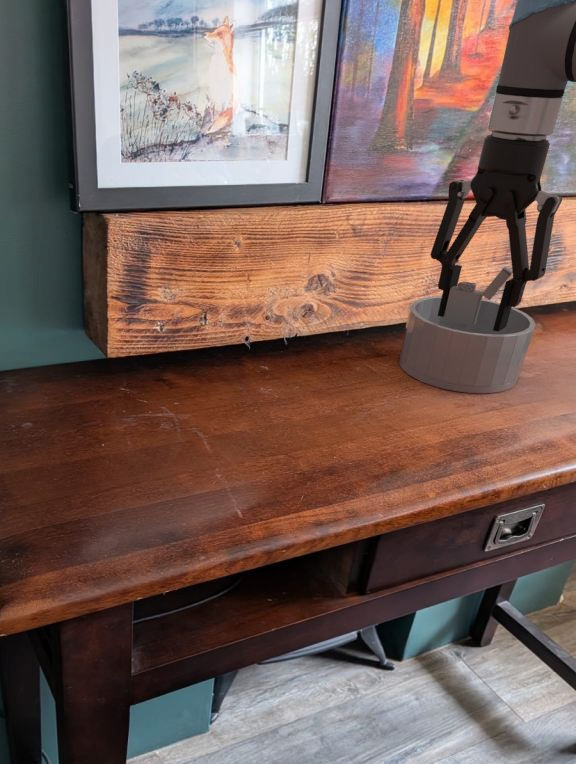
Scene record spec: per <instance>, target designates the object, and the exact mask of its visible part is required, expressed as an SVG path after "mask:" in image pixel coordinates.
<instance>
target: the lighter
mask: <svg viewBox="0 0 576 764" xmlns="http://www.w3.org/2000/svg"><path fill="white" fill-rule="evenodd" d="M512 275H513V272H512V269H510V268H508V267H507V266H506V265H504V266H503V267H502V269H501V270H500V271H499V273H498V274H497V275H496V276H495V277H494V278H493V280H492V281H491V282H490V283H489V285H488V286H487V287H486V288H485V290H477V282H470V281H466V280H465V281H459V282H458V285H457V287H456V286H453V287H452V288H451V289H450V293H449V297H448V302H447V306H446V310H445V314H444V319H443V320H446V321H451V322H456V323H461V324H466V325H471V326H474V324H475V323H476V320H477V316H478V312H479V308H480V305H481V301H482V299H483V297H484V298H485V299H486V300H489V301H491V299H493V297H494V296H495V295H496V294H497V293H498V292H499V290H500V289H501V288H502V287H503V285H505V284H506V281H508V280H509V279H510V277H511V276H512Z"/></svg>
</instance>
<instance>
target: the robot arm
mask: <svg viewBox="0 0 576 764" xmlns="http://www.w3.org/2000/svg"><path fill="white" fill-rule="evenodd" d="M508 30H509V32H508V36H507V40H506V46H505V50H504V55H503V59H502V63H501V69H500V74H499V77H498V78H499V79H498V81H497V85H496V89H495V93H494V97H493V101H492V104H491V110H490V114H489V117H488V122H487V127H486V128H487V129H488V131H490V132H491V133H490V134H488V135H486V137H484V139H483V143H482V148H481V153H480V156H479V161H478V165H477V171H476V173H475V175H474V177H472V179H471V180H464V179H458V180H454V181H451V182H450V183H449V184H448V198H447V199H448V201H447V204H446V207H445V209H444V212H443V216H442V218H441V221H440V225H439V227H438V230H437V233H436V236H435V239H434V241H433V245H432V248H431V251H430V258H431V259H432V260H436V261H438V262H439V263H440V264H441V270H440V274H439V279H438V284H437V288H438V290H439V291H440V290H441V291H442V294H441V296H442V298H441V303H440V307H439V311H438V316H440V317H444V314H445V310H446V306H447V302H448V297H449V293H450V289H451V288H452V287H453V286H456V287H458V283H459V282H460V281H459V280H460V277H461V271H462V267H463V265H460V264H457V263H459V262H460V258H461V256H462V255H463V253H464V252H465V250H466V248H467V247H468V245H469V244H470V242H471V241H472V239H473V238H474V236H475V235H476V233H477V232H478V230H479V228H480V227H481V225H482V224H483V222H484V221H485V220H486V219H487V218H490V217H496V218H498V219H499V220H504V221H505V224H506V229H507V230H508V239H509V248H510V261H511V271H512V272H513V273H512V278H509V279H507V280H506V281H505V283H504V288H503V291H502V295H501V299H500V301H499V303H500V306H499V309H498V313H497V317H496V321H495V324H494V328H493V331H497V332H499V331H500V330H502V329H504V328H505V327H506V325H507V322H508V318H509V315H510V311H511V308H512V307H513V308H516V307H517V306H519V305H520V304H521V302H522V300H523V296H524V292H525V289H526V285H527V283H528V282H535V281H537V280H539V279H541V278H542V277H544V276H545V275H546V272H547V271H546V270H547V265H548V259H549V252H550V245H551V239H552V232H553V226H554V220H555V216H556V213H557V211H558V210H559V207H560V206H561V204H562V202H563V196H562V195H560V194H555V195H553V194H551V193H548V192H546V191H544V190H542V185H541V177H542V175H543V171H544V168H545V164H546V160H547V156H548V154H549V153H548V152H549V150H550V146H551V143H549V142H550V140H548V139H547V137H548V136H552V135H553V134H554V131H555V127H556V124H557V120H558V117H559V113H560V109H561V105H562V103H563V102H562V101H563V98H564V95H565V91H566V87H567V85H568V82H571V83H576V0H517V1H516V5H515V8H514V12H513V15H512V18H511V22H510V23H509V25H508ZM470 192H472V196H473V198H474V200H475V205H474V206H473V208H472V210H471V212H470V213H469V214H468V218H467V219H466V222H465V223H464V224H463V226H462V228H461V229H460V231H459V232H458V234H457V236H456V238H455V239H454V241H453V242H452V244H451V241H452V238H453V235H454V232H455V229H456V227H457V224H458V221H459V218H460V216H461V213H462V210H463V208H464V204H465V200H466V198H468V196H469V194H470ZM535 201H536V203H537V205H536V210H537V212H538V216H537V220H536V225H535V230H534V231H535V232H534V237H533V245H532V252H531V256H530V257H531V258H530V261H529V252H528V240H527V229H526V223H527V212H526V210H527V208H528V207H530V206H531V205H532V204H533V203H534V202H535ZM450 244H451V245H450ZM449 246H450V247H449ZM529 263H530V264H529Z"/></svg>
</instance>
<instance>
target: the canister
mask: <svg viewBox="0 0 576 764" xmlns="http://www.w3.org/2000/svg"><path fill="white" fill-rule="evenodd" d="M441 298H442V295H433V296H426V297H422V298H419V299H416V300H415V301H413V302H412V303H411V304H410V306H409V310H408V315H407V319H406V323H405V329H404V334H403V338H402V343H401V348H400V352H399V354H400V355H399V359H398V364H399V366H400V367H401V370H403V371H404V373H406V374H407V375H409V376H410V377H412V378H413V379H415V380H417V381H420V382H422V383H424V384H427V385H429V386H432V387H436V388H439V389H443V390H447V391H453V392H458V393H465V394H495V393H502V392H506V391H508V390H511V389H512V388H514V387H515V386H516V385H517V384H518V381H519V378H520V376H521V372H522V369H523V366H524V363H525V359H526V356H527V354H528V350H529V348H530V343H531V340H532V337H533V334H534V330H535V327H536V322H535V320H534V319H533V317H531V315H529V314H527V313H526V312H524V311H522V310H520V309H518V308H516V307H512V308H511V311H510V315H509V318H508V322H507V325H506V327H505V328H504V329H502V330H500V331H499V332H497V331H493V328H494V324H495V321H496V317H497V313H498V309H499V306H500V302H497V301H493V300H488V299H485V298H482V301H481V305H480V308H479V312H478V316H477V320H476V323H475V324H474V326H471V325H466V324H461V323H456V322H451V321H446V320H443V319H444V317H440V316H438V311H439V307H440V303H441Z"/></svg>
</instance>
